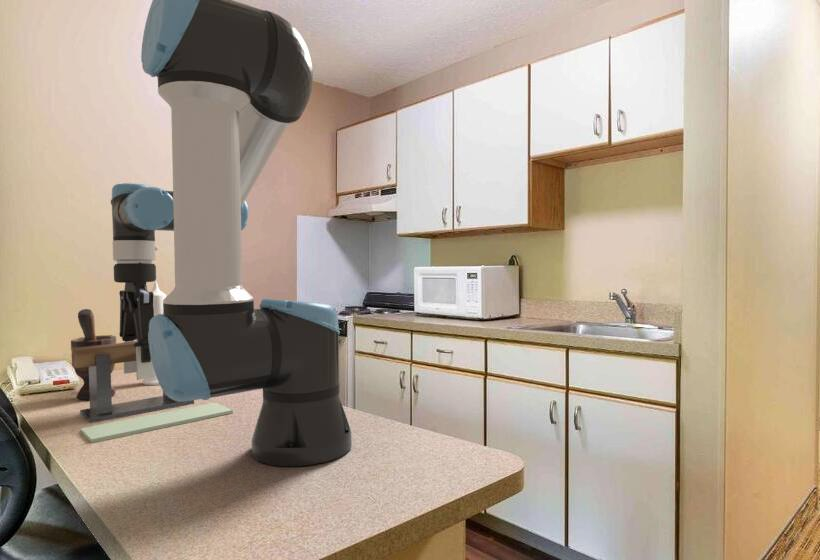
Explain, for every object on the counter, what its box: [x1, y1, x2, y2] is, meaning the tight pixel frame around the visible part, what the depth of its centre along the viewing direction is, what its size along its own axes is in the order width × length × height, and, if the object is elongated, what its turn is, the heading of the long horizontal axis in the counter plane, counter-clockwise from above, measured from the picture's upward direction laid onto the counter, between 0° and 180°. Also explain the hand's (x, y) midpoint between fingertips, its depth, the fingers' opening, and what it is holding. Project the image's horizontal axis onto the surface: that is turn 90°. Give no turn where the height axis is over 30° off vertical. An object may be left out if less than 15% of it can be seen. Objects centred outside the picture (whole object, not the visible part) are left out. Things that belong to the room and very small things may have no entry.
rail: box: [71, 340, 138, 368], centre depth 106 cm, size 3×22×3 cm, turn 133°
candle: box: [142, 281, 167, 386], centre depth 130 cm, size 7×7×25 cm
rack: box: [79, 354, 195, 424], centre depth 106 cm, size 8×19×12 cm, turn 133°
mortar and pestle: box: [70, 308, 117, 401], centre depth 115 cm, size 12×9×20 cm
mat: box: [79, 402, 234, 444], centre depth 97 cm, size 8×24×1 cm, turn 133°
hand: (138, 375), depth 106 cm, fingers open, 8 cm apart
